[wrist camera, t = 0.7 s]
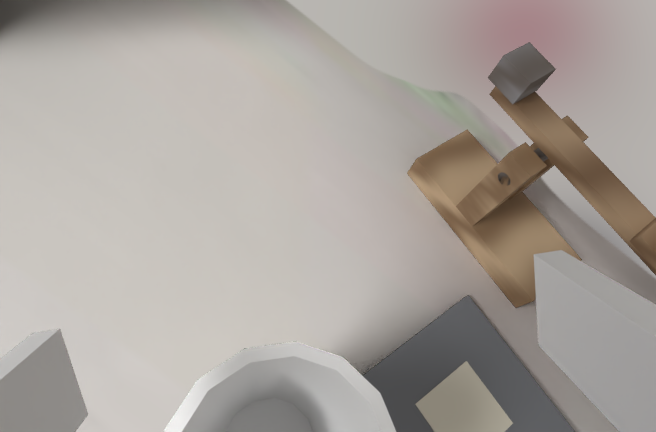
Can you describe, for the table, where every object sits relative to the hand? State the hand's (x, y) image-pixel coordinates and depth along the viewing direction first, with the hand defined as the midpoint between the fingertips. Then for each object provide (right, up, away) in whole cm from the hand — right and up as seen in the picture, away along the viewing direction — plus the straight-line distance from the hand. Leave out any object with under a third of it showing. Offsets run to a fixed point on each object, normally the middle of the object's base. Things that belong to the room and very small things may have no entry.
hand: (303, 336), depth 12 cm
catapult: (+15, +2, +25) cm, 29 cm away
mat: (+10, -11, +19) cm, 24 cm away
